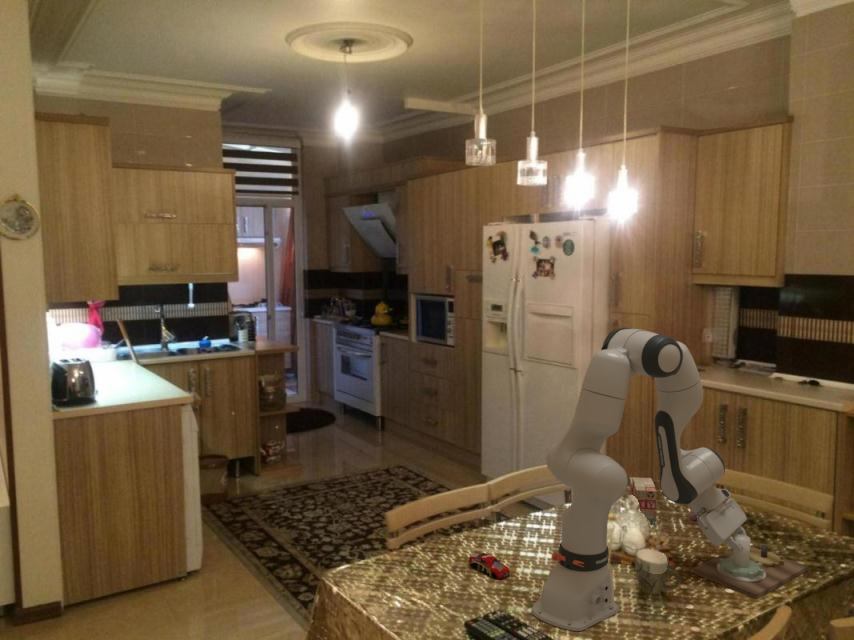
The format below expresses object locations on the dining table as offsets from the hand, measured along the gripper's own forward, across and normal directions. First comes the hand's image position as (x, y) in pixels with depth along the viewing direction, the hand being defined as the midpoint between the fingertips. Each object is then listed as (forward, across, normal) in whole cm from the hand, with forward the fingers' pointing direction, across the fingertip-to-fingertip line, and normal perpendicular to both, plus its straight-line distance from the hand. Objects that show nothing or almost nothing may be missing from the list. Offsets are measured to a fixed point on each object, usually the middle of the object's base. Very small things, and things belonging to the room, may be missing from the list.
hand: (744, 547), depth 186 cm
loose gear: (+4, 0, +5) cm, 6 cm away
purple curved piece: (-9, +29, +21) cm, 37 cm away
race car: (-32, -40, +45) cm, 68 cm away
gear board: (+6, +4, +6) cm, 9 cm away
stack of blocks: (-22, +25, +34) cm, 48 cm away
